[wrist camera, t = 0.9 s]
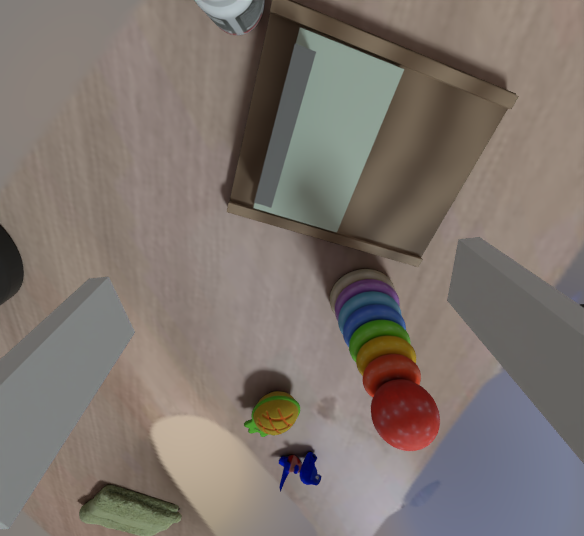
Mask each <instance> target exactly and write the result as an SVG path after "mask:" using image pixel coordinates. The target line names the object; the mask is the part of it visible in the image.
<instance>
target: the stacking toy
mask: <svg viewBox="0 0 584 536" xmlns="http://www.w3.org/2000/svg"><path fill="white" fill-rule="evenodd" d="M330 305H331V308H332V311H333V312H334V314H335V315H336V318H337V320H338V324H339V328H340V331H341V333H342V334H343V336H344V340H345V342H346V344H347V345H348V347H349V351H350V354H351V356H352V358H353V360H354V361H355V362H356V364H357V368H358V370H359V372H360V373H361V375H362V376H363V385H364V388H365V390H366V391H367V393H368V394H369V395H370V396H371V397H373V399H372V403H371V416H372V421H373V424H374V426H375V428H376V430H377V432H378V433H379V435H380V436H381V437H382V438H383V439H384V440H385V441H386V442H387V443H388V444H390V445H391V446H393V447H395V448H397V449H400V450H405V451H416V450H420V449H423V448H425V447H426V446H428V445H429V444H430V443H431V442H432V441H433V440H434V439H435V437H436V435H437V433H438V430H439V425H440V416H439V411H438V408H437V406H436V403H435V401H434V399H433V398H432V397H431V395H430V394H429V393H428V392H427V391H426V390H425V389H424V388H423V387H421V386H420V381H421V374H420V370H419V368H418V366H417V365H416V364H415V363H416V354H415V351H414V349H413V347H412V346H411V345H410V338H409V335H408V333H407V332H406V325H405V322H404V319H403V318H402V316H401V310H400V307H399V298H398V295H397V293H396V292H395V288H394V286H393V283H392V282H391V280H390V279H389V278H388V277H387V276H386V275H384V274H383V273H381V272H379V271H376V270H371V269H360V270H356V271H352V272H350V273H348V274H346V275H344V276H343V277H342V278H340V279H339V280H338V281H337V282H336V284H335V285H334V287H333V289H332V291H331V294H330Z"/></svg>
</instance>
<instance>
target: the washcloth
mask: <svg viewBox="0 0 584 536" xmlns="http://www.w3.org/2000/svg"><path fill="white" fill-rule="evenodd" d="M178 508H179V506H177V505H174V504H171V503H168V502H164V501H161V500H159V499H155V498H152V497H149V496H146V495H143V494H140V493H137V492H134V491H130V490H127V489H123V488H121V487H117V486H115V485H107V486H105V487H104V488H103V489H102V490H101V492H99V493H97V495H96V496H94V499H91V500H90V501H89V502H88V503H86V504H85V505H83V506H82V507H81V509H80V512H79V516H80V519H81V521H82V522H84V523H89V524H99V525H102V526H104V527H106V528H112V529H116V530H121V531H123V532H124V531H125V532H128V533H132V534H136V535H140V536H152V535H155V534H156V533H158V532H160V531H163V530H166V529H168V528H169V526H170V525H171V524H173V523H178V522H179V521H180V520H181V514H180V513H179V512H177V511H178Z"/></svg>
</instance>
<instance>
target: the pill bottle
mask: <svg viewBox="0 0 584 536" xmlns="http://www.w3.org/2000/svg"><path fill="white" fill-rule="evenodd" d="M194 1H195V2H196V3H197V5H198V6H199V7H200V8H201V9H202V10H203V11H204V12H205V13H206V14H207V15H208V16H209V17H210V18H211V20H212V21H213V22H214V23H215V24H216V25H217V26H218V27H219V28H220V29H221V30H223V31H224V32H226V33H229V34H232V35H243V34H246V33H248V32H250V31H251V30H253V29H254V28H255V27H256V25H257V24H258V23H259V21H260V19H261V17H262V14H263V10H264V3H265V0H194Z"/></svg>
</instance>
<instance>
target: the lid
mask: <svg viewBox="0 0 584 536" xmlns="http://www.w3.org/2000/svg"><path fill="white" fill-rule="evenodd" d="M403 71H404V69H402V68H400V67H397V66H395V65H392V64H390V63H387V62H385V61H382V60H380V59H377V58H375V57H372V56H370V55H367V54H365V53H362V52H360V51H357V50H355V49H352V48H350V47H348V46H345V45H343V44H340V43H338V42H335V41H333V40H330V39H328V38H325V37H323V36H320V35H318V34H315V33H313V32H310V31H308V30H305V29H303V28H300V29H299V33H298V37H297V41H296V44H295V45H294V49H293V53H292V57H291V61H290V65H289V69H288V73H287V77H286V80H285V84H284V88H283V92H282V96H281V100H280V104H279V108H278V112H277V115H276V119H275V123H274V127H273V131H272V135H271V139H270V143H269V147H268V150H267V154H266V158H265V162H264V166H263V170H262V174H261V178H260V182H259V185H258V189H257V193H256V197H255V201H254V203H255V204H254V207H253V208H255V209H259V210H262V211H265V212H269V213H272V214H275V215H279V216H282V217H286V218H289V219H292V220H296V221H299V222H303V223H306V224H309V225H313V226H316V227H320V228H323V229H326V230H330V231H333V232H337V231H338V228H339V226H340V224H341V221H342V219H343V216H344V214H345V212H346V209H347V207H348V204H349V202H350V199H351V197H352V195H353V192H354V190H355V187H356V185H357V183H358V180H359V178H360V175H361V173H362V170H363V168H364V166H365V163H366V161H367V158H368V156H369V153H370V151H371V149H372V146H373V144H374V141H375V139H376V137H377V134H378V132H379V129H380V127H381V124H382V122H383V120H384V117H385V115H386V112H387V110H388V108H389V105H390V103H391V100H392V98H393V95H394V93H395V91H396V88H397V86H398V83H399V81H400V79H401V76H402V74H403Z"/></svg>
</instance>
